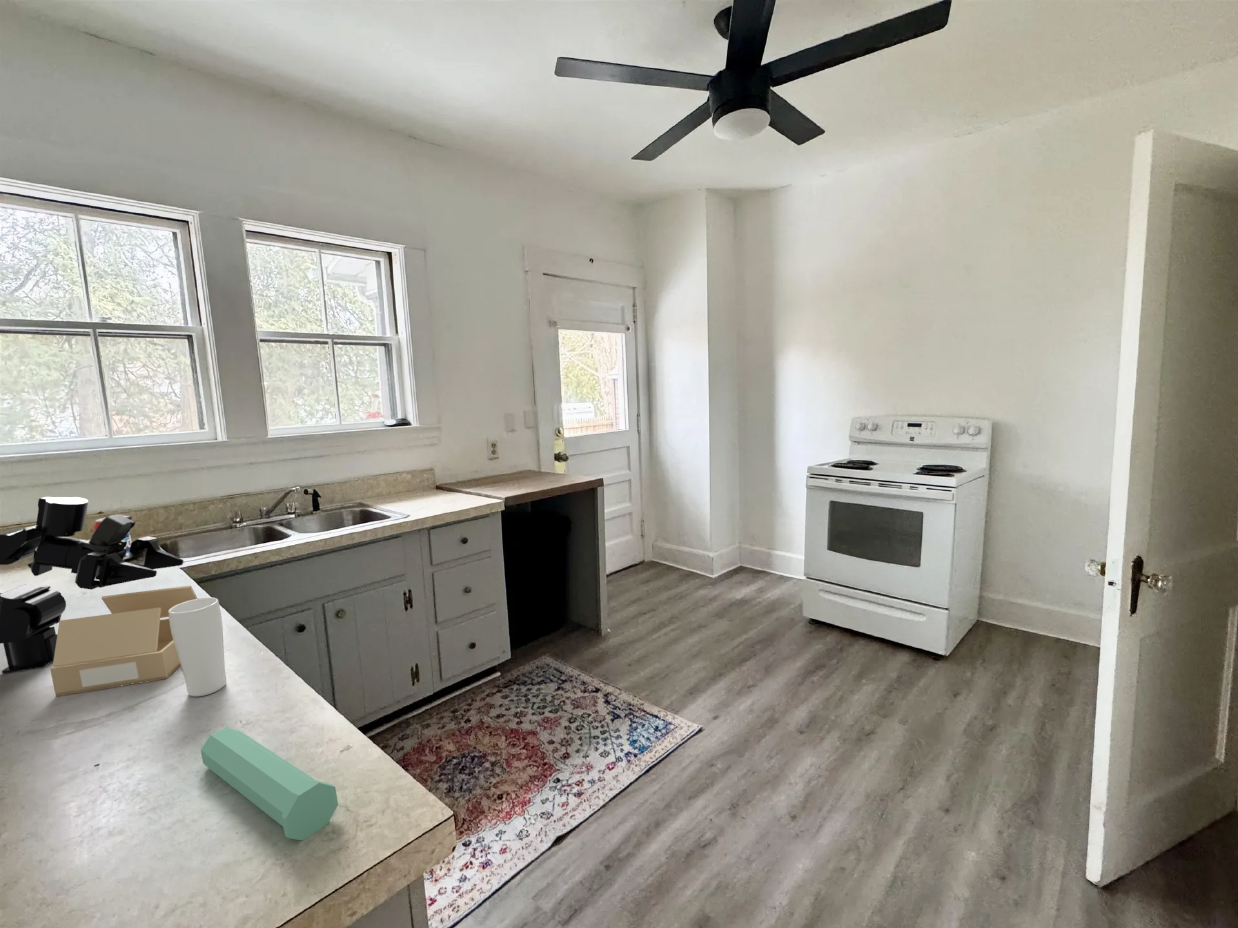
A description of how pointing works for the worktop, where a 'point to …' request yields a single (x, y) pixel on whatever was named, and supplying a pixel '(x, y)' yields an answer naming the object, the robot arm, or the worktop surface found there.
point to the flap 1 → (107, 636)
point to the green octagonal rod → (270, 782)
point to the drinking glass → (199, 644)
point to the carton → (119, 668)
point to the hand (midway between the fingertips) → (169, 567)
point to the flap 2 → (149, 600)
